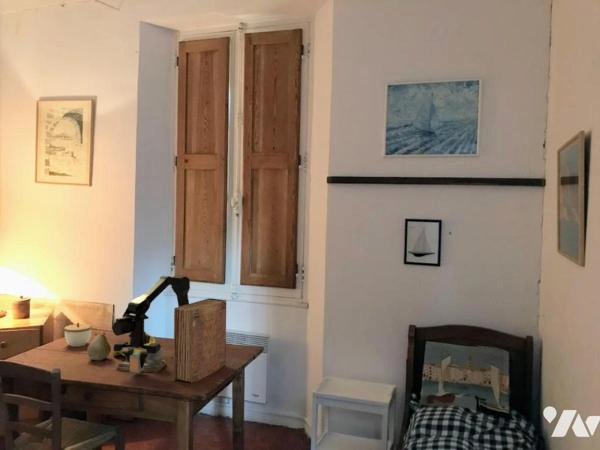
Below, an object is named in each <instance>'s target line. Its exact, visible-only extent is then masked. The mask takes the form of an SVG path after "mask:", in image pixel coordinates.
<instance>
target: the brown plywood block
mask: <svg viewBox="0 0 600 450" xmlns="http://www.w3.org/2000/svg"><path fill="white" fill-rule="evenodd" d="M226 342H227V300H226V299H217V298H205V299H202V300H198V301H194V302H189V304H187V305H183V306H180V307H178V306H176V307H174V310H173V371H172V372H173V373H172V374H173V378H172V379H173V381H176V380H178V381H184V382H189V383H190V384H194V383H196V382H199V381H200V380H202V379H204V378H206V377H208V376H210V375H212V374H214V373H216V372H217V371H219V370H222V369H223V368H225V367H226V365H227V364H226V361H227V360H226V356H227V355H226V354H227V353H226V351H227V346H226V344H227V343H226Z"/></svg>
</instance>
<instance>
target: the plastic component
mask: <svg viewBox="0 0 600 450" xmlns="http://www.w3.org/2000/svg"><path fill="white" fill-rule="evenodd" d="M146 335H148V336H150V342H149V343H147V344H144V345H149V344H151V343H156V338H154V337H153V336H152V335H150V334H149V333H147V332H146ZM122 352H123V349H122V350H121V351H113V354H112V355H113V356H114V357H117V356H120V355H122V356H123V357H125V358H126V356H125V355H124V354H123V353H122ZM135 352H140V353H142V352H143V350H138V349H134V352H133V353H135Z"/></svg>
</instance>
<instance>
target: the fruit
mask: <svg viewBox="0 0 600 450" xmlns="http://www.w3.org/2000/svg"><path fill="white" fill-rule="evenodd" d="M105 334H106V332H104V331H103V334H102V333H99V334H98V335H96V336H95V338H93V340H92V341H91V342H90V343H89V344H88V346H87V352H86V353H87V355H88V357H89V358H90V359H91V360H94V361H102V360H105V359H107V357H108V356H109V355H110V353H111V350H112V348H111V345H110V343H109V341H108V339H107V337H106V336H105Z"/></svg>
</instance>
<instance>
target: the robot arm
mask: <svg viewBox="0 0 600 450" xmlns="http://www.w3.org/2000/svg"><path fill="white" fill-rule="evenodd" d="M169 286H171V288H172V291H173V292H174V294H175V295H176V299H177V307H180V306H183V305H187V304H190V302H189V295H188V294H189V292H190V290H191V280H190V278H189V277H187V276H183V275H179V274H178V275H174V276H170V275H162V276H161V275H160V277H159V279H158V280H157V281H155V283H153V284H152V286H150V288H149V289H147V290H146V291H145V293H143V294H142V295H139V296H138V297H135V298H133V299H132V300H130V301H129V302H128V304H127V308H126V309H125V310H124V313H123V314H122V316H121V318H120V317H118V318H117V317H116V318H115V322H113V325H112V326H111V327H112V332H113V334H114V335H115V336H116V337H117V336H118V337H119V336H123V335H126V334H128V337H129V341H125V340H124V341H118V342H116V343H115V344H114V345H113V347H112V348H113V352H114V351H121V350H122V349H123V352H122V353H123V354H124V355H125V356H126V357H125V356H124V357H125V359H126V358H127V360H128V362H129V364H130V355H132V354H133V352H134V349H138V350H143V352H142V353H140V363H141V368H143V366H144V363H145V360H146V357H147V355H148V354H149V353H157V352H158V351H160V350H161V349H162V348H161V347H162V346H161V344H160V343H158V342H155V343H151V344H149V345H144V344H147V343H149V342H150V336H148V335H146V333H147V332H146V331H145V320H149V318H150V317H149V316H148V315H146V314H147V312H148V311H149V309H150V307H151V304H152V303H153V302H154V301H155V300H156V299H157V298H158V297H159V296H160V295H161V294H162V293H163V292H164V291H165V290H166V289H167V288H168V287H169Z"/></svg>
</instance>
